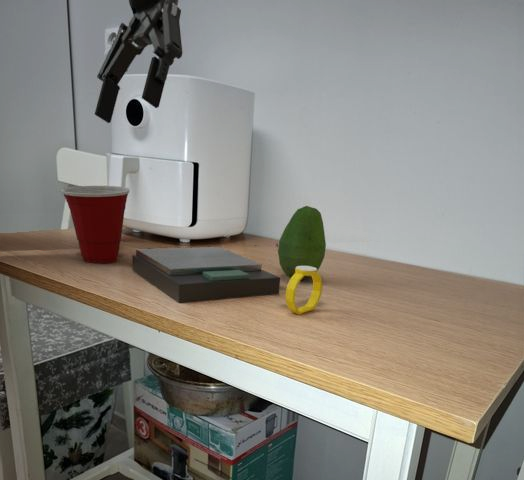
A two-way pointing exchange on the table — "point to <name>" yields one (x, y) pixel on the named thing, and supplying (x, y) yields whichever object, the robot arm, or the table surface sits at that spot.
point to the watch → (293, 283)
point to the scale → (203, 273)
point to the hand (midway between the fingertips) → (124, 111)
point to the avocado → (302, 241)
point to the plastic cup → (97, 220)
